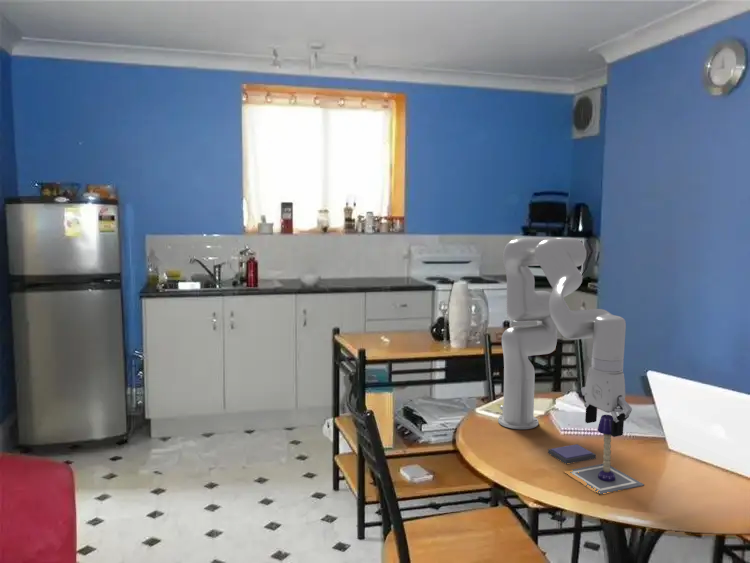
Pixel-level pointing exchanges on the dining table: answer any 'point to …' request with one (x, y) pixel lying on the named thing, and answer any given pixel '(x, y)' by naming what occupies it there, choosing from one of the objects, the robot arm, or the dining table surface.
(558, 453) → the ink pad
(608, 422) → the toy lamp
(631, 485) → the marked board
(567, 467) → the dining table surface
